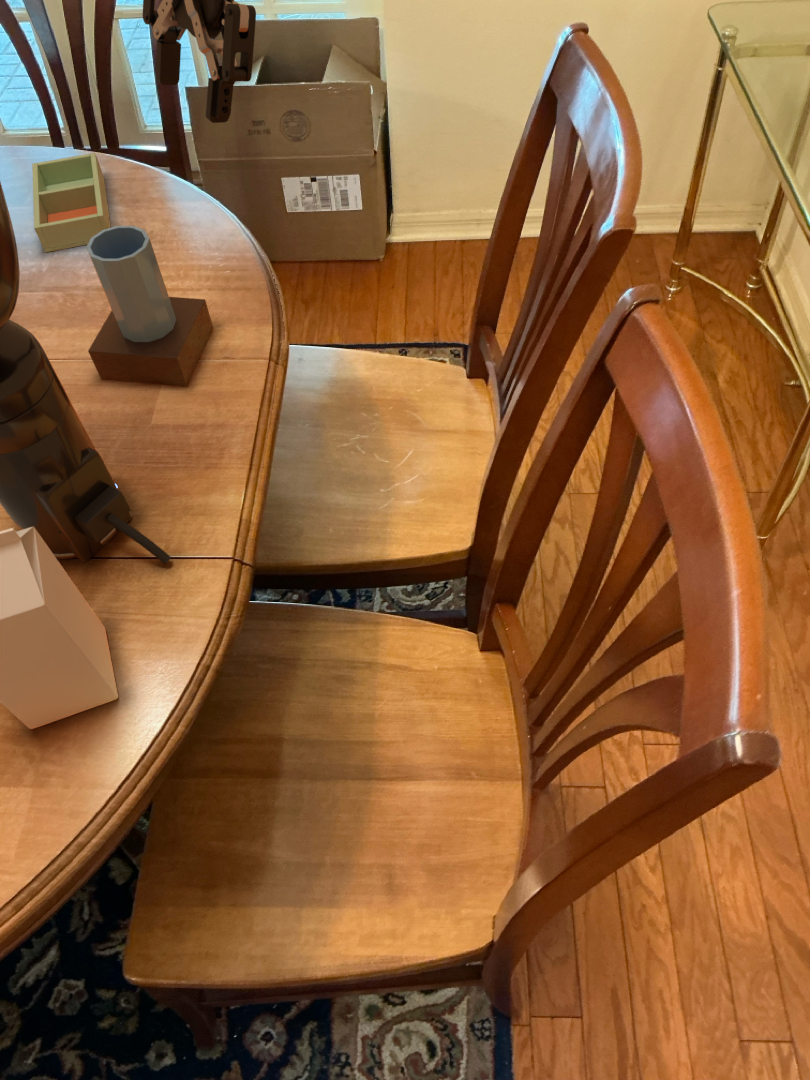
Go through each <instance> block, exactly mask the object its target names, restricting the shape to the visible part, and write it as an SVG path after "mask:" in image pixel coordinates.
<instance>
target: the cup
mask: <svg viewBox="0 0 810 1080" xmlns="http://www.w3.org/2000/svg"><path fill="white" fill-rule="evenodd" d="M86 250H87V254H88V255H89V258H90V261H91V263H92V266H93V268H94V270H95V273H96V275H97V278H98V280H99V283H100V285H101V288H102V290H103V292H104V294H105V297H106V299H107V303H108V305H109V306H110V310H111V311H112V312H113V314H114V317H115V319H116V322H117V324H118V326H119V329H120V331H121V333H122V335H123V337H124V338H126V339H128V340H131V341H133V342H151V341H154V340H157V339H160V338H163V337H164V336H165V335H167V334H168V333H169V332H170V331H172V330H173V328H174V325H175V322H176V317H175V314H174V311H173V308H172V305H171V302H170V299H169V297H170V296H169V293H168V290H167V287H166V283H165V280H164V278H163V274H162V272H161V269H160V265H159V262H158V260H157V257H156V254H155V251H154V247H153V245H152V242H151V239H150V237H149V235H148V232H147V231H146V230H145V229H143V228H140V227H138V226H136V225H114V226H111V228H108V229H105V230H102V231H100V232H99V233H98V234H96V235H95V236H93V237H92V238H91V239H90V241H89V243H88V244H87V245H86Z"/></svg>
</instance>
